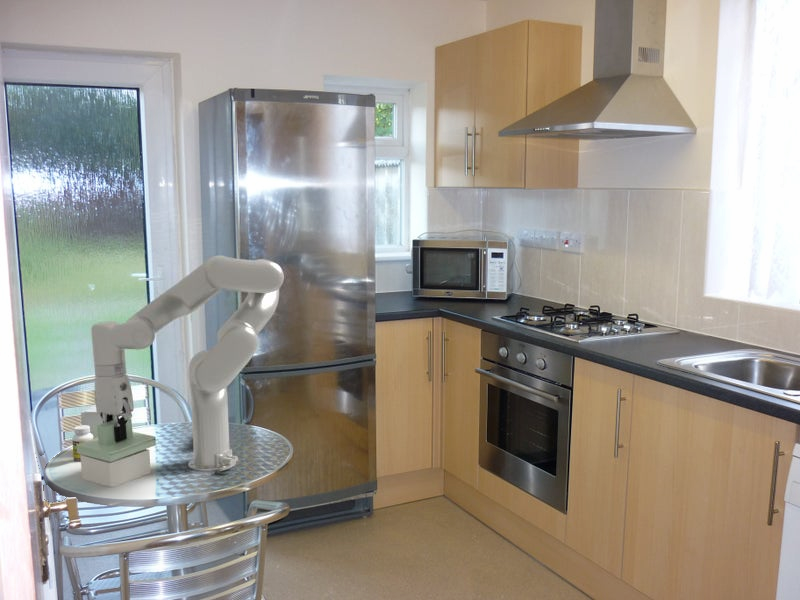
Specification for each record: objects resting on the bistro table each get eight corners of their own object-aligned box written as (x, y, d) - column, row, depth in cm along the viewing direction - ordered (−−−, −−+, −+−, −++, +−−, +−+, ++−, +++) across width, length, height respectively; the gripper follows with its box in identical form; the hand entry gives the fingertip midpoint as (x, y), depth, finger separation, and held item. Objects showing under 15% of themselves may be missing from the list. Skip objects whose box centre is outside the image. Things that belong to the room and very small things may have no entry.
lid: (156, 445, 198) (153, 418, 197) (110, 461, 187) (107, 433, 186) (122, 437, 206) (120, 411, 205) (77, 453, 195) (74, 425, 194)
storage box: (150, 475, 199) (149, 449, 198) (111, 490, 189) (109, 463, 188) (122, 467, 206) (120, 442, 205) (82, 481, 196) (80, 455, 195)
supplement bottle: (70, 464, 209) (67, 429, 208) (79, 457, 214) (76, 424, 213) (89, 464, 209) (87, 429, 208) (98, 457, 214) (95, 424, 213)
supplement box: (108, 454, 217) (105, 411, 215) (82, 455, 217) (79, 412, 215) (118, 446, 224) (115, 405, 222) (93, 447, 224) (90, 405, 223)
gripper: (143, 370, 192) (148, 440, 195) (103, 364, 201) (109, 431, 204) (118, 376, 186) (124, 448, 189) (78, 369, 195) (84, 438, 198)
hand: (116, 438), depth 196 cm, fingers closed on lid, 3 cm apart
